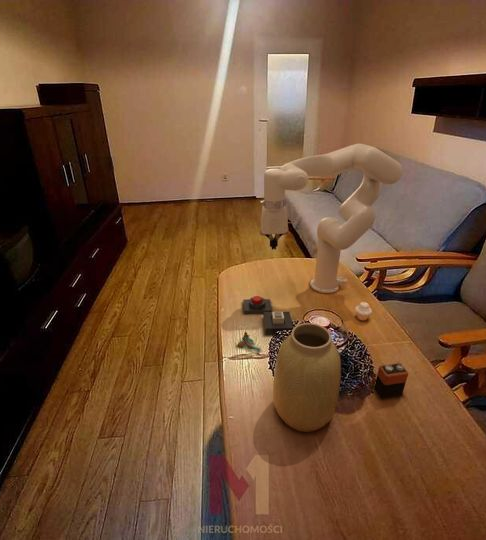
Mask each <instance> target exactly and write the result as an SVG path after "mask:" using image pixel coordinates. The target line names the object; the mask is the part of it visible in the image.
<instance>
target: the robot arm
mask: <svg viewBox="0 0 486 540" xmlns="http://www.w3.org/2000/svg"><path fill="white" fill-rule="evenodd" d="M354 169H355V170H356V169H358V170H361V171H363V177H362V181H361V183H360V185H359V187H358V188H357V189H356V190H354V192H353V193H352V194H351V195H349V197H348V198H347V199H346V200H345V201H344V202H343V203H342V204H341V205H340V206H339V209H338V215H339V217H340V218H341V219H342V220H343V221H345V222H343V221H341V220H339V219H338V218H336V217H333V216H327V217H324V218H322V219H321V220H320V221H319V223H318V224H317V230H316V235H317V248H316V249H317V250H316V258H315V267H314V268H315V269H314V276H313V277H314V278H312V279H311V280H310V283H309V285H310V288H311V289H312V290H314V291H316V292H318V293H322V294H333V293H336V292H337V291H339V289H340V285H341V284H345V285H348V279H347V278H345V279H344V277H343V276H338V272H339V265H340V257H341V253H342V252H341V251H344V250H347V249H349V248H350V247H351V246H353V245H354V244H355V243H356V242H357V241H358V240H359V239H360V238H361V237H363V235H365V234H366V232H367V231H368V230H369V229H370V228H372V227H373V225H374V223H375V220H376V217H377V215H376V210H375V209H374V208H373V207H372V206H373V204H374V203H375V202H377V200H378V198H379V197H380V195H381V191H382V184H384V185H388V186H389V185H393V184H396V183H397V182H398V181H400V180H401V178H402V176H403V166H402V165H401V163H400V162H398V161H397V160H396V159H394V158H393V157H391V156H389V155H388V154H387V153H385V152H383V151H382V150H380V149H379V148H377V147H375V146H373V145H368V144H364V143H354V144H351V145H347V146H345V147H342V148H339V149H337V150H333V151H331V152H328V153H324V154H323V153H322V154H317V155H311V156H306V157H302V158H297V159H295V160H292V161H289V162H286V163H284V165H282V166H281V167H280V168H270V169H267V170H265V172H264V174H263V192H264V193H263V196H264V197H263V199H262V200H260V202H259V204H260V205H261V206H262V207H261V208H262V209H261V213H260V231H259V234H260V235H259V236H262V237H266V238H267V239H269V247H270V248H271V250H275V251H276V250H277V247H279V245H278V244H279V240H280V238H281V237H282V236H285V235H288V229H289V221H288V219H289V217H288V209H287V206H286V205H285V201H286V200H285V196H286V191H300V190H303V189H304V188H306V187H307V185H308V183H309V177H322V178H328V177H331V178H332V177H335V176H338V175H340V174H344V173H346V172H350V171H352V170H354ZM273 235H274V236H273Z"/></svg>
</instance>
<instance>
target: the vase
mask: <svg viewBox="0 0 486 540" xmlns="http://www.w3.org/2000/svg"><path fill="white" fill-rule="evenodd" d="M332 337H333V336H332V334H331V332H330V331H329V329H328V328H326V327H325V326H322V325H320V324H317V323H314V322H304V323H303V322H302V323H299V324H297V325H296V326H293V330H292V332H291V335H288V336H287V337H285V338H284V340H283V341H282V343H281V345H280V347H279V348H278V352H277V355H276V360H275V365H274V371H273V372H274V373H273V382H272V399H273V405H274V409H275V411H276V412H277V414H278V416H279V417H280V418H281V420H282V421H283V422H284V424H286V425H287V426H288V427H290V428H292V429H293V430H296V431H299V432H303V433H304V432H306V433H309V432H314V431H318V430H320V429H321V428H323V427H324V426H326V425H327V424H328V423H330V421H331V419H333V417H334V415H335V412H336V411H337V406H338V403H339V398H340V397H339V396H340V389H341V384H342V383H341V381H342V361H341V360H342V359H341V355H340V352H339V349H338V347H337V345H336V344H335V342H334V341H333V339H332Z"/></svg>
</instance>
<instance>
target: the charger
mask: <svg viewBox="0 0 486 540" xmlns="http://www.w3.org/2000/svg"><path fill="white" fill-rule="evenodd" d="M283 312H284V311H281V310H274V311H272V324H284V315H283Z"/></svg>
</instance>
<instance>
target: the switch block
mask: <svg viewBox="0 0 486 540" xmlns="http://www.w3.org/2000/svg"><path fill="white" fill-rule="evenodd" d="M253 297H254V296H252V297H250V298H249V299H248V298H247V299H243V300H242V302H243V303H242V306H243V307H242V308H243V315H263V312H273V310H272V303H271V299H270V298H264V297H262V296H260V297H261V298H262V302H261V303H260V304H255V303H253Z"/></svg>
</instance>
